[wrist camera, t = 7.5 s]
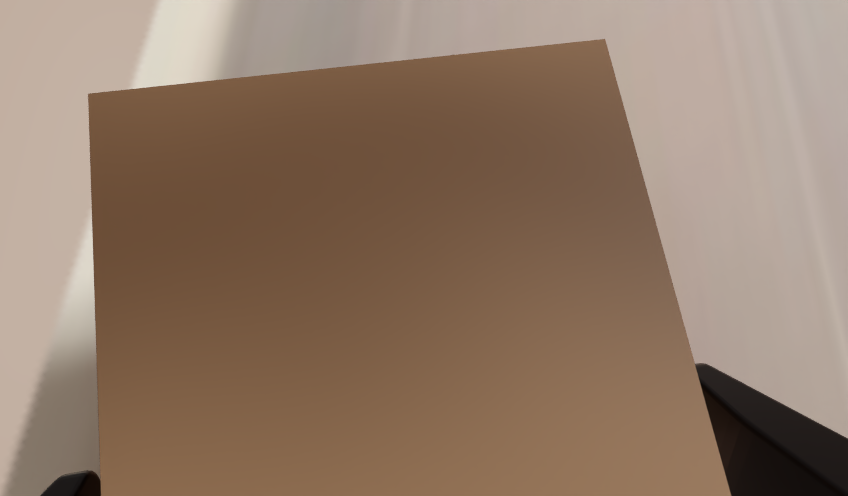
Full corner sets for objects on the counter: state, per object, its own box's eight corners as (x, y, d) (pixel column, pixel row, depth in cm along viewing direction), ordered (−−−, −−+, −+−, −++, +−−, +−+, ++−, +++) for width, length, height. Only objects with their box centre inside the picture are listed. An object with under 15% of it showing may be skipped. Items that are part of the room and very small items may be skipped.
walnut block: (484, 441, 16) (754, 576, 5) (310, 474, 16) (108, 725, 4) (453, 274, 17) (605, 38, 6) (290, 298, 17) (88, 93, 5)
